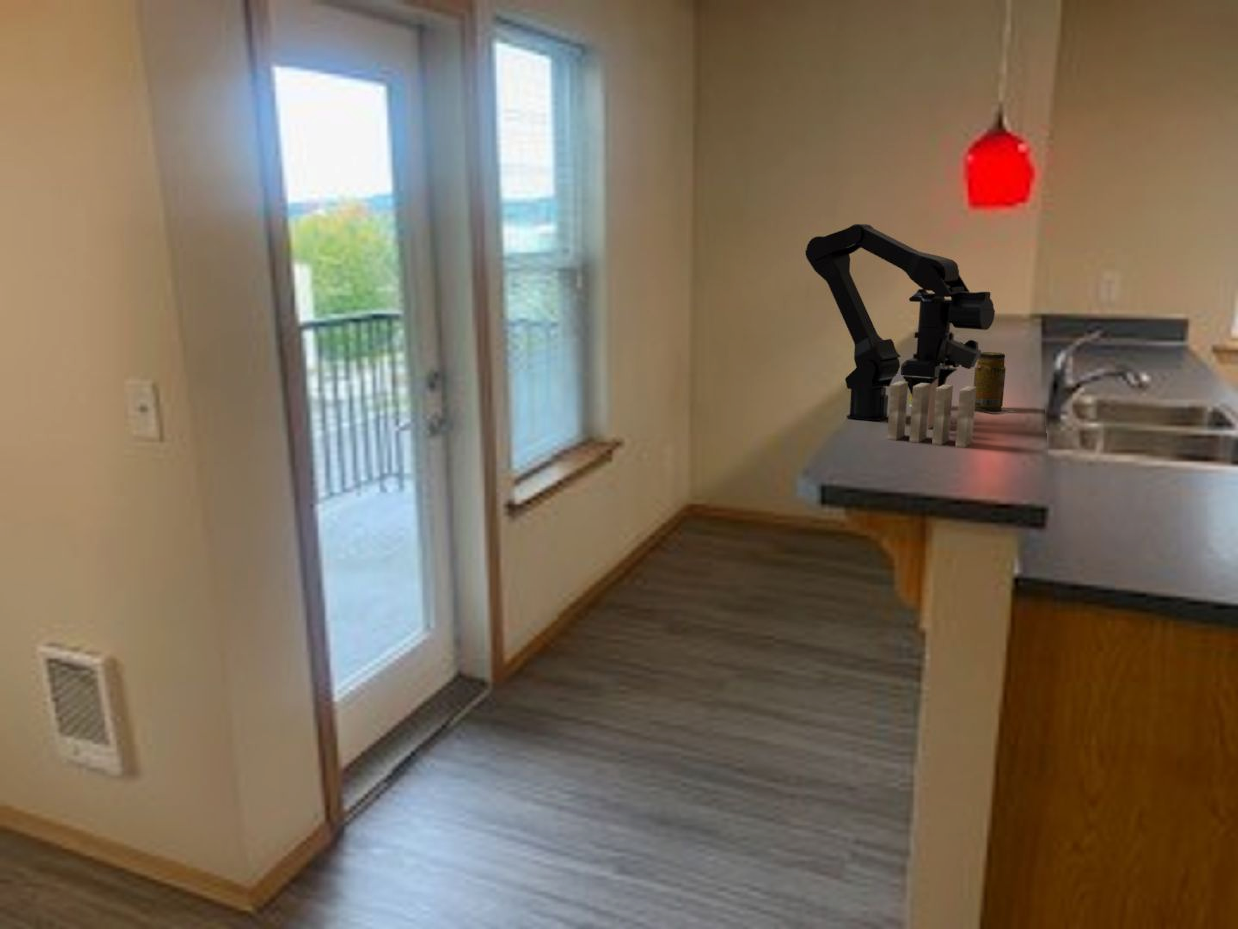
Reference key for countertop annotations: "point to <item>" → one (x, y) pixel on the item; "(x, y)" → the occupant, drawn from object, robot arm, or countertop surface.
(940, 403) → the domino
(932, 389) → the domino
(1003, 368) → the condiment
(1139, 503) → the countertop surface
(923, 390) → the domino
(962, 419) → the domino
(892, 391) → the domino
